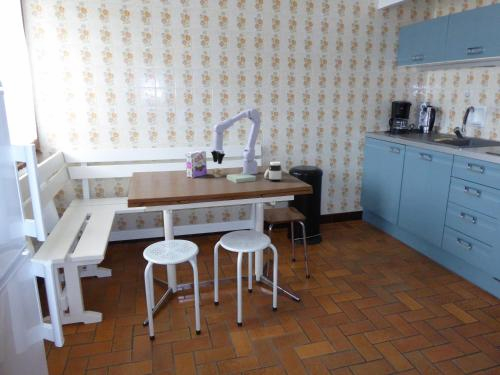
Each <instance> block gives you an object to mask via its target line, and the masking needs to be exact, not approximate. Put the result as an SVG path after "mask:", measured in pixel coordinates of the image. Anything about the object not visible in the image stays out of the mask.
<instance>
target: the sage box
mask: <svg viewBox="0 0 500 375" xmlns="http://www.w3.org/2000/svg"><path fill="white" fill-rule="evenodd" d="M226 180H229V181H230V182H233V183H236V184H239V183H247V182H256V181H257V176H255V175H254V174H247V173H241V172H240V173H233V174H226Z"/></svg>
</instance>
